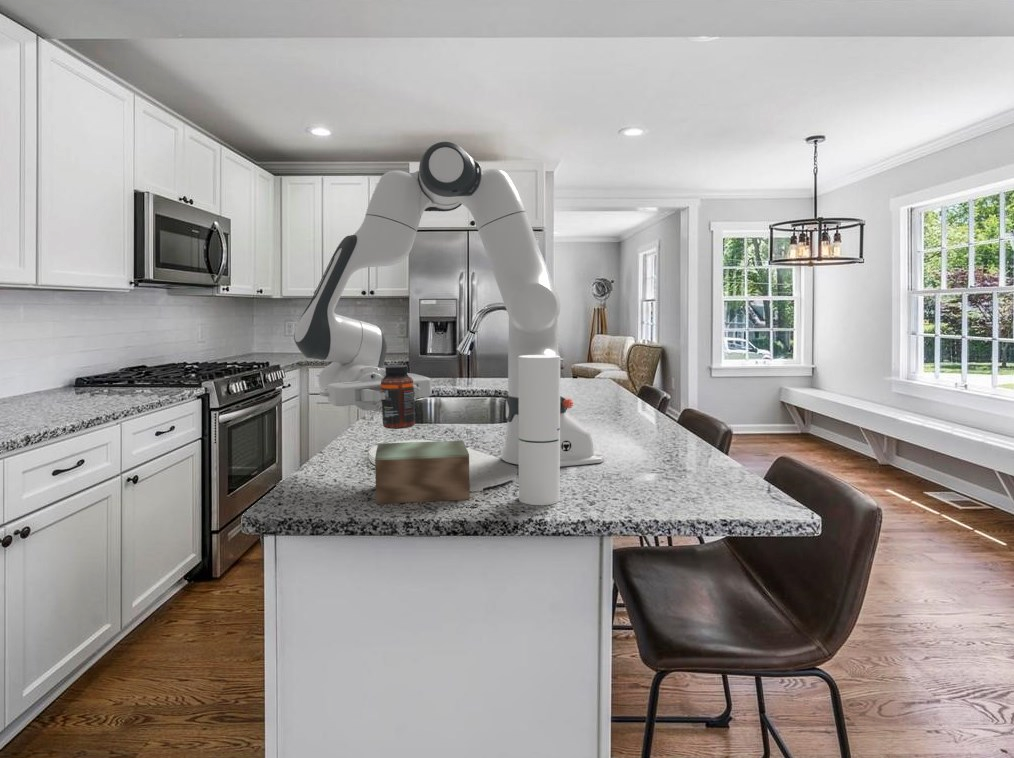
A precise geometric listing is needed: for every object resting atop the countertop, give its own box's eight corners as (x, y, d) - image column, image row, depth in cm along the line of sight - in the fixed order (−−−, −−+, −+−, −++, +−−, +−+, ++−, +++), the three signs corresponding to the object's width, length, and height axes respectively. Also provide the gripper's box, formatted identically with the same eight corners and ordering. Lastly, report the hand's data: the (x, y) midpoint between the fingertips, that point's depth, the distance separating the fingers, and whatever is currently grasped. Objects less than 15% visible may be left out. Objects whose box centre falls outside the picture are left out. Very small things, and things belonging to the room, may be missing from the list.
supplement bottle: (418, 423, 121) (416, 364, 119) (410, 429, 115) (408, 367, 113) (387, 423, 121) (385, 364, 120) (378, 429, 115) (375, 367, 114)
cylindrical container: (564, 495, 114) (564, 355, 111) (553, 507, 107) (554, 358, 104) (525, 491, 116) (525, 354, 113) (513, 502, 109) (512, 357, 107)
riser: (463, 481, 123) (462, 440, 123) (469, 499, 112) (469, 454, 111) (379, 485, 121) (378, 443, 120) (376, 503, 109) (375, 457, 108)
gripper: (314, 376, 121) (346, 382, 110) (409, 368, 133) (446, 373, 122) (316, 409, 121) (347, 418, 110) (410, 398, 134) (446, 405, 123)
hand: (400, 394), depth 117 cm, fingers closed on supplement bottle, 6 cm apart
